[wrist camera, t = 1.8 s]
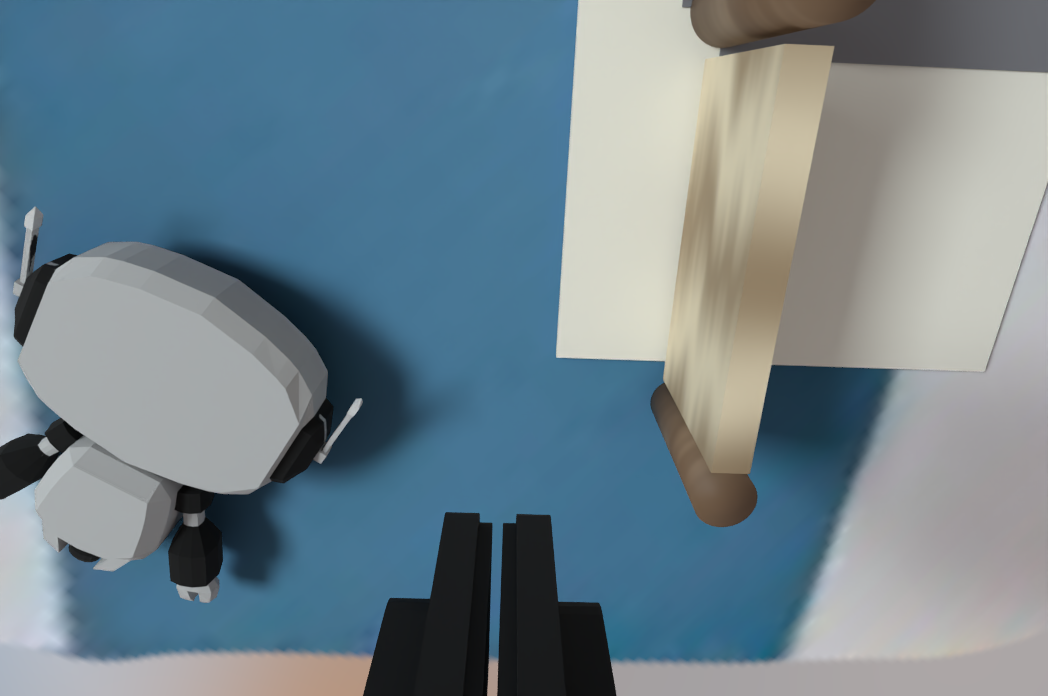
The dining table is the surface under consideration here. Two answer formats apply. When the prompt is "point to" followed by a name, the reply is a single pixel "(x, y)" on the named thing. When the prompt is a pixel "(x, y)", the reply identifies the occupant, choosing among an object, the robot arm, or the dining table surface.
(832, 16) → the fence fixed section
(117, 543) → the robot toy
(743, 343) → the fence swing section
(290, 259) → the dining table surface
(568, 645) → the robot arm
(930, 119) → the card
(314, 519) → the dining table surface
